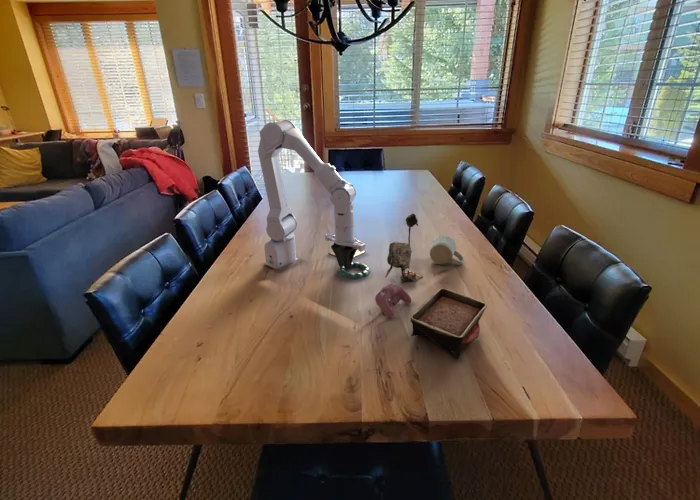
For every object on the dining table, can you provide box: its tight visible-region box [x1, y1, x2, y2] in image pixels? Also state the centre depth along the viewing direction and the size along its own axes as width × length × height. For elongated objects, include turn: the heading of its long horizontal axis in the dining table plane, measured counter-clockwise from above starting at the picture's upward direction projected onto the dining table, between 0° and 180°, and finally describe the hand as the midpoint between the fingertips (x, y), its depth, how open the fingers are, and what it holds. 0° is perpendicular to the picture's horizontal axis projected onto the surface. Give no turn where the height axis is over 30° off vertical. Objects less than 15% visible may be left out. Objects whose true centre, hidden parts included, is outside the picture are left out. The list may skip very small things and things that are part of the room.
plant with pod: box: [385, 212, 424, 284], centre depth 106 cm, size 8×11×20 cm
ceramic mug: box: [429, 234, 465, 266], centre depth 120 cm, size 11×8×8 cm
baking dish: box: [410, 287, 488, 360], centre depth 84 cm, size 14×18×10 cm
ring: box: [337, 261, 371, 280], centre depth 114 cm, size 10×10×2 cm
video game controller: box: [374, 282, 413, 319], centre depth 96 cm, size 10×5×7 cm, turn 141°
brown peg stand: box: [328, 250, 366, 259], centre depth 126 cm, size 9×9×6 cm
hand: (345, 266), depth 116 cm, fingers closed on ring, 2 cm apart
